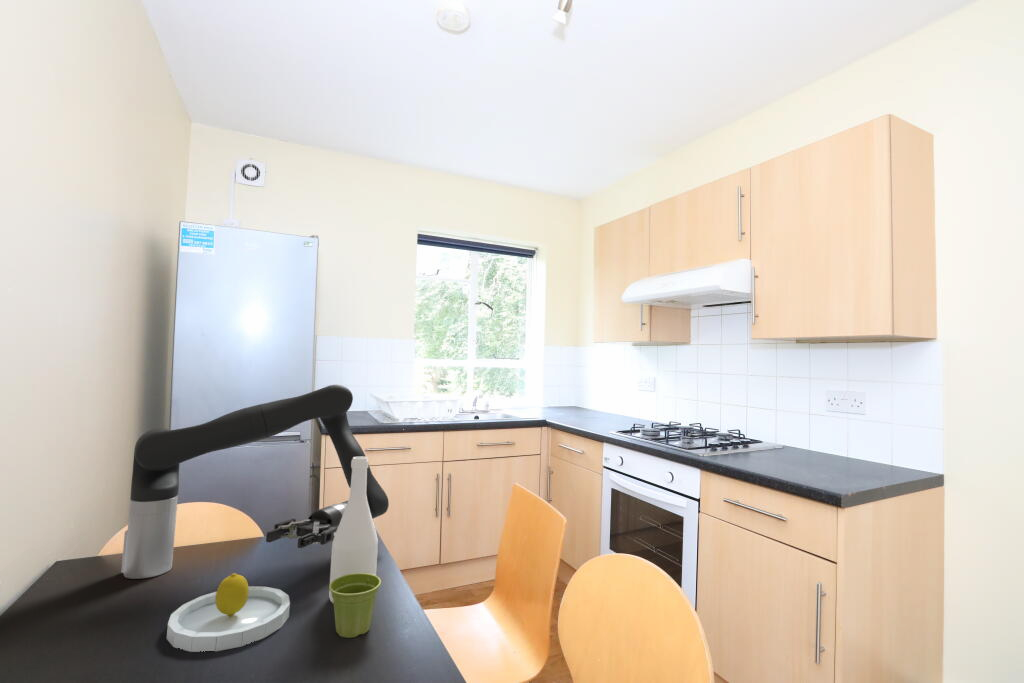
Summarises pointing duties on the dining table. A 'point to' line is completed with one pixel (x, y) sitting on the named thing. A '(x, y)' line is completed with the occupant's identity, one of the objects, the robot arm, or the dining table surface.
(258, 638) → the dish
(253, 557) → the dining table surface
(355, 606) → the plant pot
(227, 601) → the lemon
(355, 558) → the wine bottle
